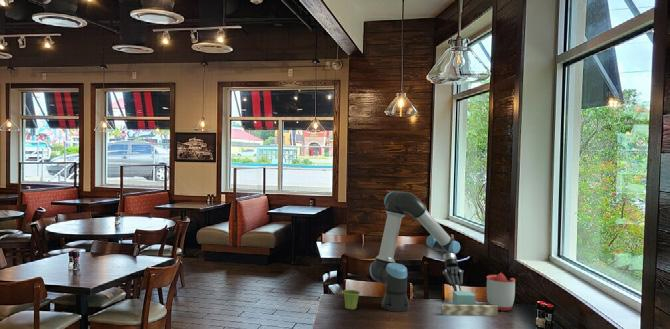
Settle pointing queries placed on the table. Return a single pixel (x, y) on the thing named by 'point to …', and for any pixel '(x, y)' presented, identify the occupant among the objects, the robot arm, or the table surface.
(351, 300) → the plant pot
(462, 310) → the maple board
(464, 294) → the teal block
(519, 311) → the table surface
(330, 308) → the table surface
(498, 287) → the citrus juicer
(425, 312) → the table surface
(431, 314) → the table surface
